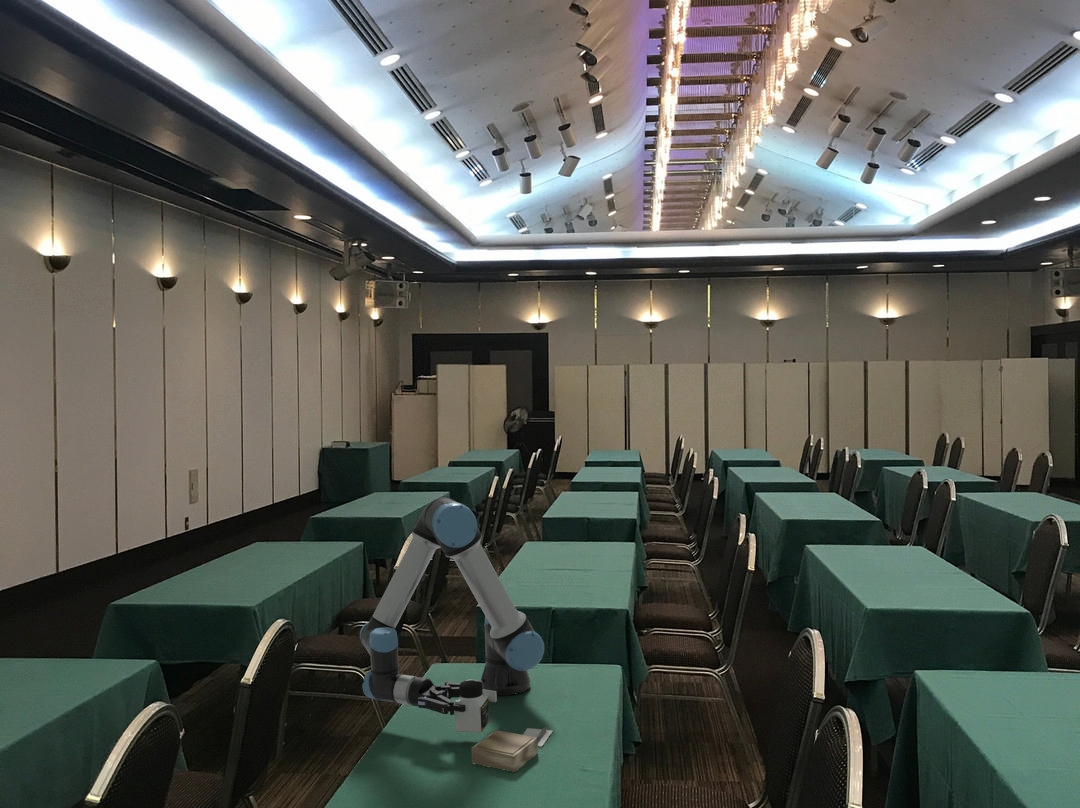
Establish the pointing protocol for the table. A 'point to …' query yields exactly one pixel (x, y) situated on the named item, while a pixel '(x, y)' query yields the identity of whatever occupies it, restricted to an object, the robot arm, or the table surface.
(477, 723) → the medicine bottle
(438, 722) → the table surface
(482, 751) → the beech tray
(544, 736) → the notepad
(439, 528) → the robot arm
